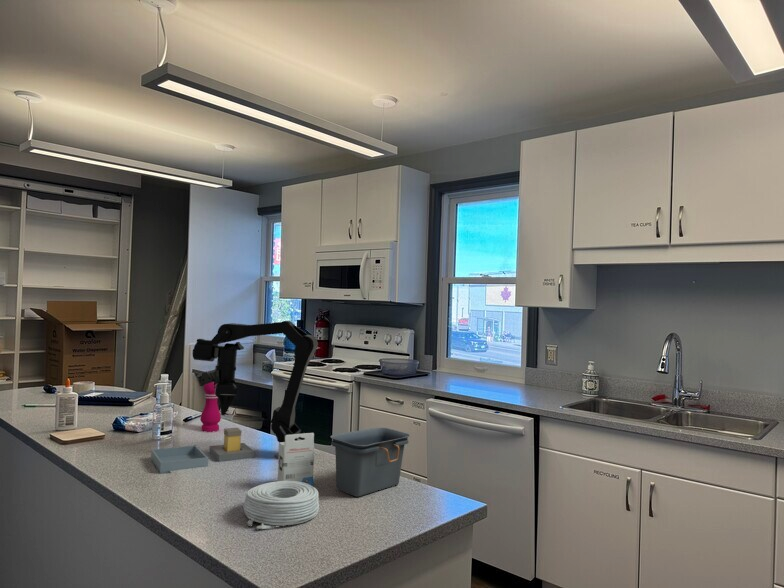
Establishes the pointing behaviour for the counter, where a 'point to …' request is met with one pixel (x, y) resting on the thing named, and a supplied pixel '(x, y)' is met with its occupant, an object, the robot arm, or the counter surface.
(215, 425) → the pepper mill
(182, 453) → the parts tray
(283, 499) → the cable
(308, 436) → the ink box
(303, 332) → the robot arm
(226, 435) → the block
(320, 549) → the counter surface
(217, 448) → the grey square socket tray
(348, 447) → the storage bin
